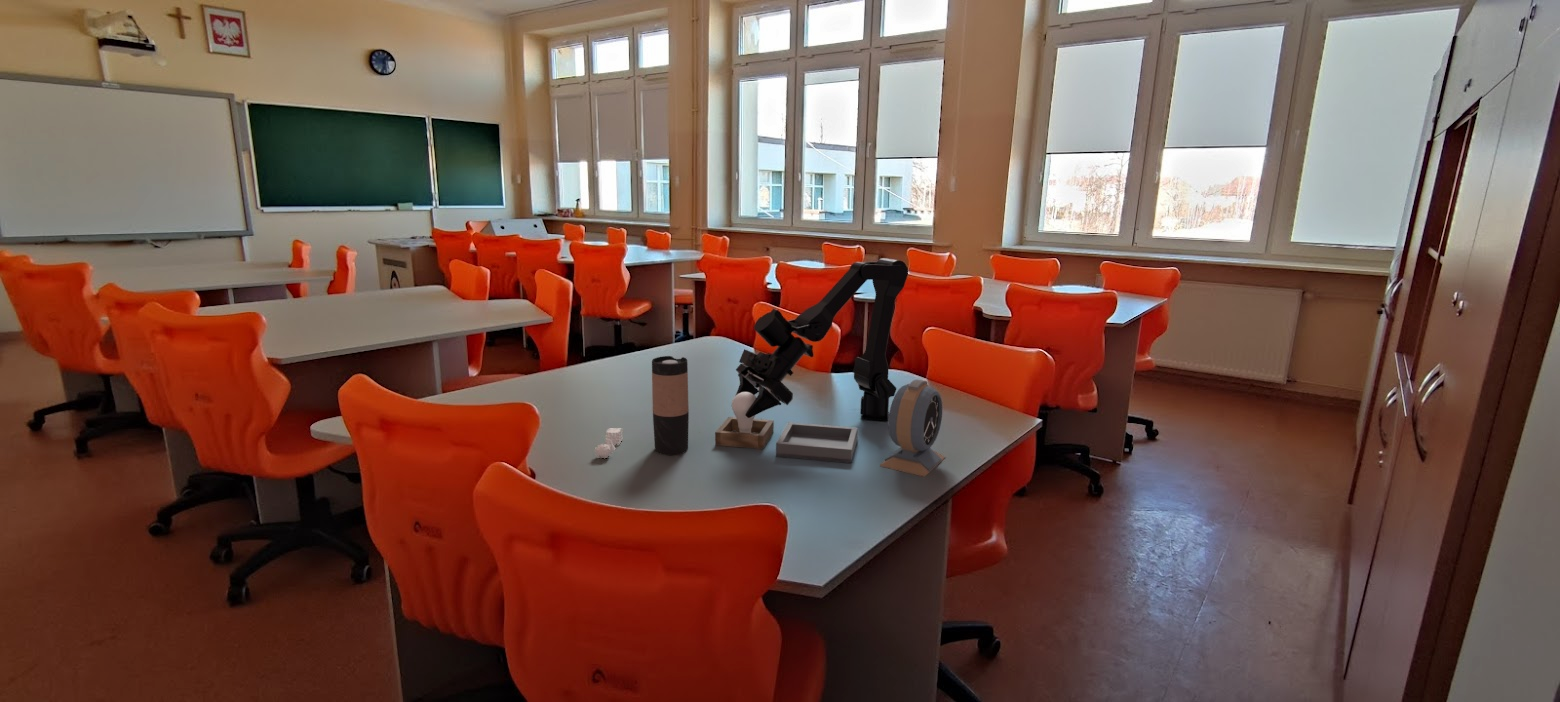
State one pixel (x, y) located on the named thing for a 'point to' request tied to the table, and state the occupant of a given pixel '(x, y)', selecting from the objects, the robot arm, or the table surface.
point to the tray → (817, 442)
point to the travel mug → (670, 404)
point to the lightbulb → (743, 410)
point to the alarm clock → (915, 428)
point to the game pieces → (609, 442)
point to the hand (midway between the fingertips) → (739, 411)
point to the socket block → (744, 434)
